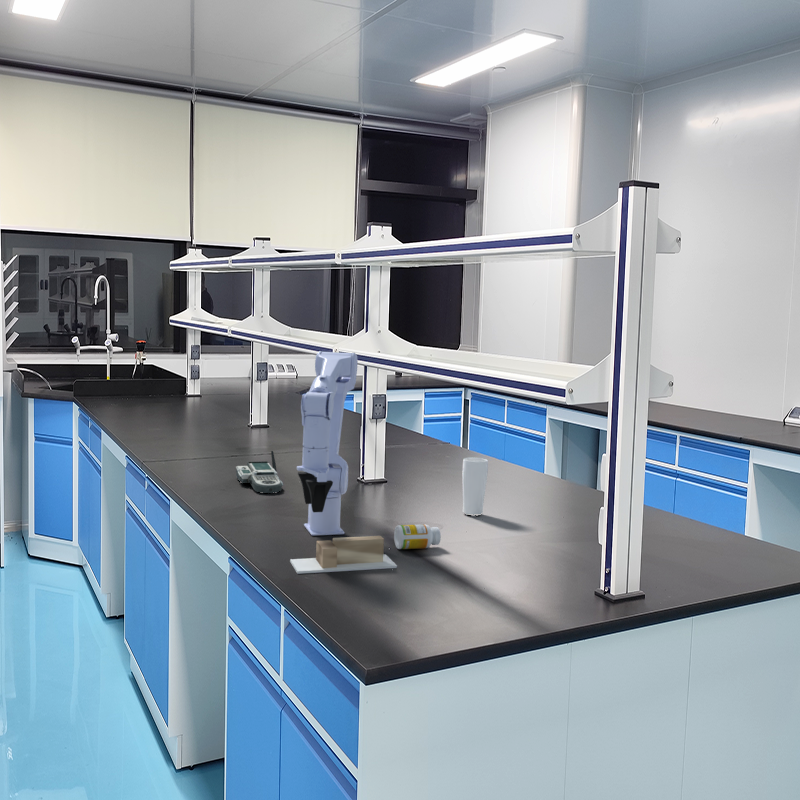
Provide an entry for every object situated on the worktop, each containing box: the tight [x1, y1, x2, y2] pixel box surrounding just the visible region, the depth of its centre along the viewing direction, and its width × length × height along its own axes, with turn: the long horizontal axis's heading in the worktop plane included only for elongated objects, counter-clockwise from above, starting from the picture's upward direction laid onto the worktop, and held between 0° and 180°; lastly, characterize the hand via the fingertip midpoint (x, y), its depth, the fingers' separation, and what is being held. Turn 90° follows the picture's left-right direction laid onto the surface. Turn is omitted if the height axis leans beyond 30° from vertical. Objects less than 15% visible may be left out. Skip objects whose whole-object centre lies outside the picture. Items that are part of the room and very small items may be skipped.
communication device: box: [235, 450, 284, 493], centre depth 241 cm, size 12×24×9 cm, turn 20°
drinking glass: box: [461, 456, 489, 515], centre depth 217 cm, size 7×7×15 cm
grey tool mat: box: [289, 553, 398, 575], centre depth 169 cm, size 8×21×1 cm, turn 108°
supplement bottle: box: [393, 524, 442, 550], centre depth 184 cm, size 5×5×10 cm
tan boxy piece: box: [315, 535, 385, 568], centre depth 170 cm, size 6×14×5 cm, turn 108°
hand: (313, 507), depth 179 cm, fingers open, 7 cm apart
